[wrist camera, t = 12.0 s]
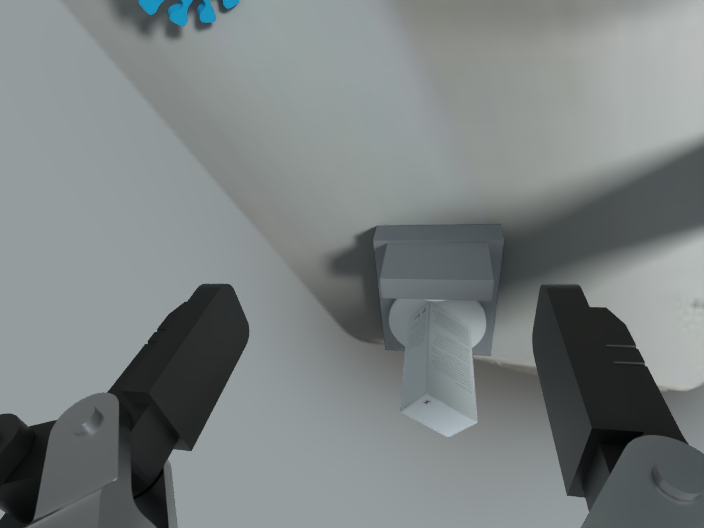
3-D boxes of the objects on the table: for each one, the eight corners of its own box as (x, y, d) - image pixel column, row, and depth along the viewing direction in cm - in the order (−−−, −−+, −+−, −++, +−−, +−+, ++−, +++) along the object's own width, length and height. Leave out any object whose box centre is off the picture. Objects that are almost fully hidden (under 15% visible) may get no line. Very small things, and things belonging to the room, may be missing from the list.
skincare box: (406, 320, 46) (396, 411, 36) (429, 300, 43) (425, 392, 34) (447, 345, 47) (448, 439, 37) (472, 326, 44) (479, 423, 35)
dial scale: (500, 224, 40) (512, 278, 33) (488, 337, 50) (495, 398, 43) (376, 225, 43) (363, 275, 36) (388, 333, 53) (379, 388, 46)
